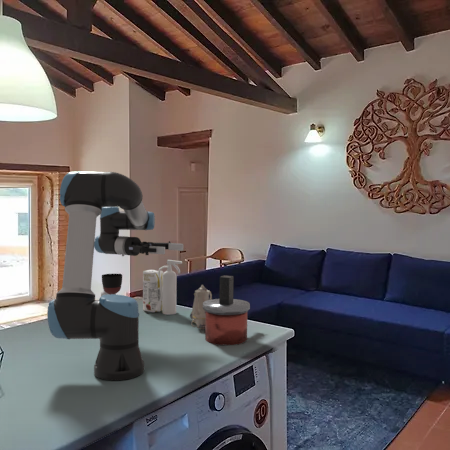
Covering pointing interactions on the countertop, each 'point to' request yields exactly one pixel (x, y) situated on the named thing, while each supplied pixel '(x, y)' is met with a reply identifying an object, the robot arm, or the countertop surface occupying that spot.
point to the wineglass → (112, 283)
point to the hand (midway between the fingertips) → (174, 248)
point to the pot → (226, 328)
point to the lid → (226, 299)
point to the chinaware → (200, 307)
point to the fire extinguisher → (168, 288)
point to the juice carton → (151, 290)
